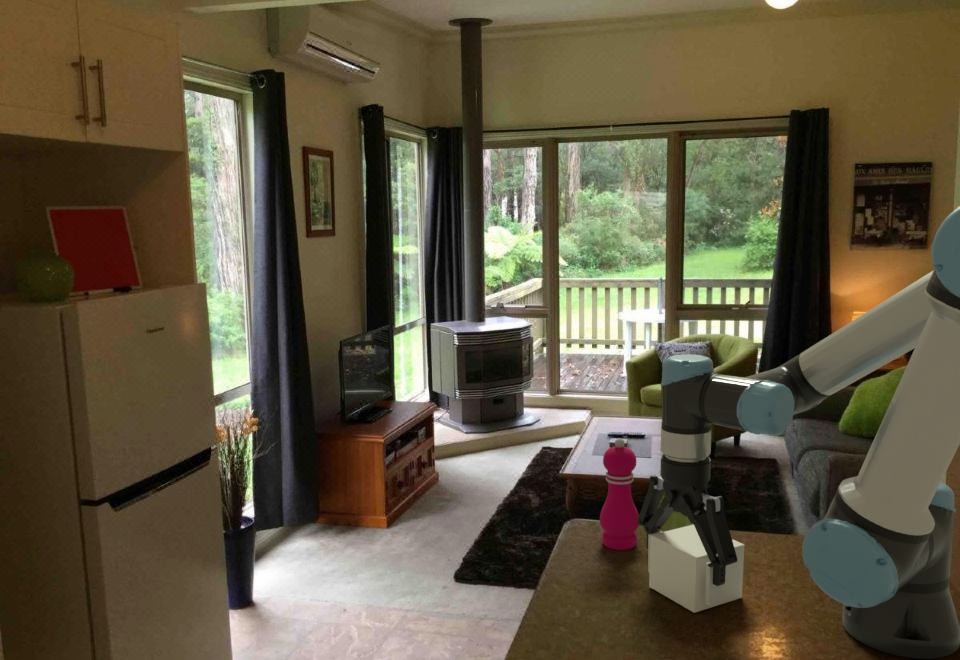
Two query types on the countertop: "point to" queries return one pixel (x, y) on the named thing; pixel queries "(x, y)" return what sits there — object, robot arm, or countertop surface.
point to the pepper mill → (619, 499)
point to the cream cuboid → (689, 569)
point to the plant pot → (675, 520)
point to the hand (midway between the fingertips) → (683, 586)
